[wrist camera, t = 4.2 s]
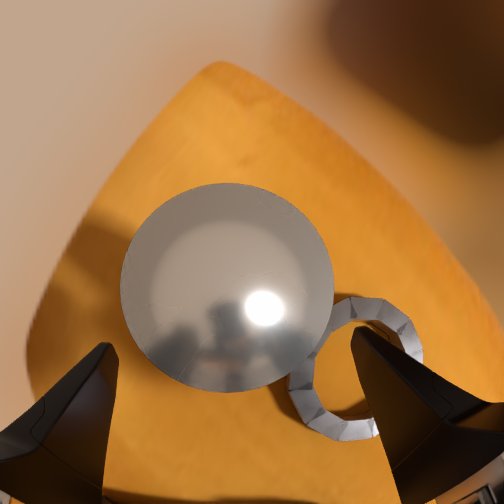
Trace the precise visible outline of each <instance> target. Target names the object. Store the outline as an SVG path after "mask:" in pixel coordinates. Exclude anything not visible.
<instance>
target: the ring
mask: <svg viewBox="0 0 504 504" xmlns="http://www.w3.org/2000/svg"><path fill="white" fill-rule="evenodd" d="M350 321H353V322H370V323H372V324H373V325H375V326H376V327H377V328H379V329H380V330H382V331H383V332H385V333H386V334H387V335H388V336H389V339H390V341H391V343H392V344H394V345H395V346H397V347H398V348H400V349H401V350H402V351H404V352H405V353H407V354H408V355H410V356H411V357H413V358H414V359H416V360H417V361H419V362H420V363H422V364H423V350H422V351H420V350H421V349H423V347H422V345H421V342H420V340H419V337H418V335H417V333H416V330H415V328H414V326H413V323H412V321H411V319H410V320H409V317H408V316H407V315H405V314H404V313H403V312H401V311H400V310H399V309H397V308H396V307H395V306H393V305H392V304H391V303H389V302H388V301H386V300H383V299H381V298H364V297H348V298H346V299H344V300H342V301H340V302H338V303H336V304H334V305H333V306H332V310H331V314H330V318H329V321H328V324H327V326H326V329H325V331H324V333H323V335H322V337H321V339H320V340H319V342H318V344H317V345H316V347H315V348H314V349H313V351H312V352H311V353H310V355H309V356H308V357H307V358H306V359H305V360H304V361H303V362H302V363H301V364H300V365H299V366H298V367H296V368H295V369H294V370H292V371H291V372H290V373H288V374H287V375H286V381H285V387H286V391H287V393H288V395H289V397H290V399H291V401H292V403H293V405H294V407H295V409H296V411H297V413H298V415H299V417H300V419H301V420H302V421H303V422H304V423H305V424H306V425H307V426H308V427H310V428H312V429H314V430H316V431H318V432H319V433H321V434H323V435H325V436H327V437H329V438H331V439H333V440H335V441H336V440H337V441H350V440H359V439H367V438H372V436H373V437H375V436H376V435H378V434H379V432H378V429H377V427H376V424H375V421H374V418H373V416H372V413H371V410H369V411H367V412H366V413H364V414H363V415H354V416H336V415H335V414H333V413H331V412H329V411H328V410H326V409H324V408H323V406H322V404H321V402H320V400H319V398H318V396H317V393H316V391H315V389H314V387H313V377H314V366H315V357H316V355H317V354H318V352H319V350H320V349H321V347H322V346H323V344H324V343H325V341H326V340H327V338H328V336H329V335H330V333H331V332H333V331H334V330H336V329H338V328H340V327H342V326H343V325H345V324H347V323H349V322H350Z"/></svg>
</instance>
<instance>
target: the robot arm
mask: <svg viewBox="0 0 504 504" xmlns="http://www.w3.org/2000/svg"><path fill="white" fill-rule="evenodd" d="M351 351H352V354H353V358H354V362H355V365H356V369H357V373H358V377H359V381H360V384H361V386H362V389H363V392H364V394H365V397H366V399H367V402H368V405H369V407H370V410H371V413H372V416H373V418H374V421H375V424H376V427H377V429H378V432H379V435H380V438H381V441H382V444H383V447H384V449H385V452H386V455H387V458H388V461H389V464H390V467H391V470H392V474H393V477H394V480H395V484H396V487H397V490H398V493H399V497H400V500H401V503H402V504H425V503H427V502H429V501H431V500H433V499H435V500H436V503H437V504H504V402H499V403H491V402H486V401H483V400H481V399H479V398H477V397H475V396H474V395H472V394H470V393H468V392H466V391H464V390H462V389H461V388H459V387H457V386H455V385H454V384H452V383H450V382H449V381H447V380H445V379H444V378H442V377H441V376H439V375H438V374H436V373H435V372H432V370H430V369H429V368H427V367H426V366H424V365H423V364H422V363H420V362H419V361H417V360H416V359H414V358H413V357H411V356H410V355H408V354H407V353H405V352H404V351H402V350H401V349H400V348H398V347H397V346H395V345H394V344H392V343H391V342H389V341H388V340H386V339H385V338H383V337H382V336H380V335H379V334H377V333H376V332H374V331H373V330H372V329H370V328H369V327H367V326H359V327H356V328H355V329H354V332H353V336H352V340H351ZM118 367H119V359H118V356H117V354H116V352H115V349H114V347H113V345H112V344H111V343H109V342H101V343H100V344H98V345H97V346H96V347H95V348H94V349H93V350H92V351H91V352H90V353H88V354H87V355H86V356H85V357H84V358H83V359H82V360H81V361H80V362H79V363H78V364H76V365H75V366H74V367H73V368H72V369H71V370H70V371H69V372H68V373H67V374H66V375H65V376H64V377H63V378H61V379H60V380H59V381H58V382H57V383H56V384H55V385H54V386H53V387H52V388H51V389H50V390H49V391H48V392H47V393H46V394H45V395H44V396H42V397H41V398H40V399H39V400H38V401H37V402H36V403H35V404H34V405H33V406H32V407H31V408H30V409H28V411H26V412H25V413H24V414H23V415H21V416H20V417H19V418H18V419H16V420H15V421H14V422H13V423H11V424H10V425H9V426H8V427H6V428H5V429H4V430H3V431H1V432H0V504H101V500H102V486H103V476H104V467H105V459H106V451H107V444H108V437H109V431H110V425H111V419H112V414H113V408H114V403H115V397H116V387H117V376H118Z"/></svg>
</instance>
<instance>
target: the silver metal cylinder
mask: <svg viewBox="0 0 504 504" xmlns="http://www.w3.org/2000/svg"><path fill="white" fill-rule="evenodd" d="M120 297H121V305H122V310H123V314H124V318H125V321H126V324H127V326H128V329H129V331H130V333H131V335H132V337H133V339H134V340H135V342H136V344H137V345H138V347H139V348H140V350H141V351H142V352H143V353H144V355H145V356H146V357H147V358H148V359H149V360H150V361H151V362H152V363H153V364H154V365H155V366H156V367H157V368H158V369H160V370H161V371H163V372H164V373H165V374H167V375H168V376H170V377H171V378H173V379H175V380H177V381H179V382H181V383H183V384H185V385H188V386H191V387H194V388H197V389H201V390H206V391H211V392H223V393H232V392H243V391H248V390H252V389H257V388H260V387H263V386H265V385H268V384H271V383H273V382H275V381H277V380H279V379H280V378H282V377H284V376H286V375H287V374H288V373H290V372H291V371H292V370H294V369H295V368H296V367H298V366H299V365H300V364H301V363H302V362H303V361H304V360H305V359H306V358H307V357H308V356H309V355H310V353H311V352H312V351H313V349H314V348H315V347H316V345H317V344H318V342H319V340H320V339H321V337H322V335H323V333H324V331H325V329H326V326H327V324H328V321H329V318H330V314H331V310H332V306H333V298H334V276H333V270H332V264H331V261H330V257H329V254H328V251H327V249H326V247H325V244H324V242H323V240H322V238H321V236H320V235H319V233H318V232H317V230H316V229H315V227H314V226H313V225H312V223H311V222H310V221H309V220H308V219H307V217H306V216H305V215H304V214H303V213H301V212H300V211H299V210H298V209H297V208H296V207H295V206H293V205H292V204H291V203H289V202H288V201H286V200H285V199H283V198H281V197H279V196H278V195H276V194H274V193H271V192H269V191H267V190H264V189H261V188H258V187H254V186H250V185H244V184H236V183H220V184H210V185H205V186H200V187H197V188H194V189H191V190H188V191H185V192H183V193H181V194H179V195H177V196H175V197H173V198H172V199H170V200H168V201H167V202H165V203H164V204H163V205H161V206H160V207H159V208H158V209H156V210H155V211H154V212H153V213H152V214H151V215H150V216H149V217H148V218H147V219H146V220H145V221H144V223H143V224H142V225H141V227H140V228H139V229H138V231H137V232H136V234H135V236H134V237H133V239H132V241H131V243H130V245H129V248H128V250H127V252H126V255H125V258H124V262H123V266H122V271H121V279H120Z"/></svg>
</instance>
